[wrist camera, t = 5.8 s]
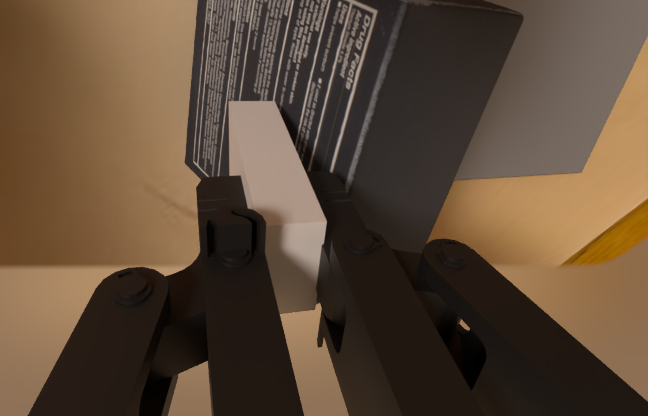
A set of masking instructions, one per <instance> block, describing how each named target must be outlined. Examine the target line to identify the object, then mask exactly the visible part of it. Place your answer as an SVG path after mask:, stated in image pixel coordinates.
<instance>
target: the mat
mask: <svg viewBox="0 0 648 416" xmlns="http://www.w3.org/2000/svg"><path fill="white" fill-rule="evenodd" d="M485 1H488V2H491V3H494V4H497V5H500V6H503V7H506V8H509V9H511V10H514V11H517V12H520V13H522V14H523V16H524V21H523V23H522V25H521V27H520V30H519V32H518V34H517V36H516V39H515V41H514V43H513V46H512V48H511V50H510V52H509V55H508V57H507V59H506V61H505V64H504V66H503V68H502V71H501V73H500V75H499V78H498V80H497V82H496V84H495V87H494V89H493V91H492V94H491V96H490V98H489V101H488V103H487V105H486V107H485V110H484V112H483V114H482V116H481V119H480V121H479V124H478V126H477V128H476V130H475V133H474V135H473V137H472V139H471V142H470V144H469V146H468V148H467V151H466V153H465V155H464V157H463V160H462V162H461V165H460V167H459V169H458V172H457V174H456V176H455V178H454V180H468V179H483V178H499V177H515V176H530V175H546V174H562V173H577V172H582V171H583V168H584V166H585V164H586V162H587V160H588V158H589V156H590V154H591V152H592V150H593V148H594V146H595V144H596V142H597V139H598V137H599V135H600V133H601V131H602V129H603V127H604V125H605V123H606V121H607V119H608V117H609V115H610V113H611V110H612V108H613V106H614V104H615V102H616V100H617V98H618V96H619V94H620V92H621V90H622V88H623V86H624V84H625V81H626V79H627V77H628V75H629V73H630V71H631V69H632V67H633V65H634V63H635V61H636V59H637V57H638V55H639V53H640V50H641V48H642V46H643V44H644V42H645V40H646V38H647V36H648V0H485Z"/></svg>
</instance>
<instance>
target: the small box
mask: <svg viewBox="0 0 648 416" xmlns="http://www.w3.org/2000/svg"><path fill="white" fill-rule="evenodd" d="M523 21H524V16H523V14H522V13H520V12H517V11H514V10H511V9H509V8H506V7H503V6H500V5H497V4H494V3H491V2H488V1H485V0H198V6H197V16H196V30H195V41H194V56H193V67H192V80H191V91H190V103H189V116H188V128H187V143H186V156H185V164H186V165H187V166H188V167H189V168H190V169H191V170H192V171H193V172H194V173H195V174H196V175H197V176H198V177H199V178H200V179H201V180H202V178H203V177H213V176H230V175H229V101H275V103H276V105H277V107H278V110H279V112H280V114H281V117H282V119H283V121H284V123H285V126H286V128H287V130H288V133H289V135H290V137H291V140H292V142H293V144H294V147H295V149H296V151H297V154H298V156H299V158H300V160H301V163H302V165H303V167H304V170H305V171H326V170H329V171H330V172H331V173H333V174H334V175H335V176H337V177H338V178H339V179H340V180H341V181H342V183H343V185H344V187H345V189H346V192H347V193H348V195H349V196H350V198H351V201H352V202H353V204H354V206H355V208H356V210H357V212H358V213H359V215H360V217H361V219H362V221H363V223H364V225H365V227H366V228H367V229H369V230H373V231H374V232H376V233H378V234H380V235H381V236H382V237H383V238H384V239H385V240H386V241H387V243H388V244H389V246H390V248H392V249H396V250H400V251H407V252H414V253H421V254H422V252H423V249H424V247H425V245H426V243H427V241H428V238H429V236H430V234H431V231H432V229H433V227H434V224H435V222H436V220H437V218H438V215H439V213H440V211H441V208H442V206H443V204H444V201H445V199H446V197H447V195H448V192H449V190H450V188H451V185H452V183H453V181H454V178H455V176H456V174H457V172H458V169H459V167H460V165H461V162H462V160H463V157H464V155H465V153H466V151H467V148H468V146H469V144H470V142H471V139H472V137H473V135H474V133H475V130H476V128H477V126H478V124H479V121H480V119H481V116H482V114H483V112H484V110H485V107H486V105H487V103H488V101H489V98H490V96H491V94H492V91H493V89H494V87H495V84H496V82H497V80H498V78H499V75H500V73H501V71H502V68H503V66H504V64H505V61H506V59H507V57H508V55H509V52H510V50H511V48H512V46H513V43H514V41H515V39H516V36H517V34H518V32H519V30H520V27H521V25H522V23H523ZM318 303H320V301H319V298H318V295H317V298H316V304H318Z"/></svg>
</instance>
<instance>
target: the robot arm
mask: <svg viewBox="0 0 648 416" xmlns="http://www.w3.org/2000/svg"><path fill="white" fill-rule="evenodd" d="M229 175H230V176H213V177H203V178H202V180H201V181H200V183H199V184H198V186H197V187H196V191H197V208H198V225H199V240H200V253H199V255H198V257H197V259H196V260H195V261H194V262H193V263H192V264H191V265H190V266H188V267H187V268H185V269H184V270H181V271H179V272H177V273H174V274H172V275H169V276H164V275H162V274H161V273H159V272H158V271H156V270H154V269H149V268H145V267H136V268H127V269H124V270H121V271H117V272H115V273H113V274H111V275H110V276H108V277H107V278H105V279H103V281H102V282H101V283H100V284H99V285H98V287H97V288H96V289H95V291H94V293H93V295H92V297H91V299H90V301H89V303H88V304H87V306H86V308H85V310H84V312H83V314H82V316H81V317H80V319H79V321H78V323H77V325H76V327H75V328H74V331H73V332H72V334H71V336H70V338H69V340H68V342H67V343H66V345H65V347H64V349H63V351H62V353H61V355H60V357H59V359H58V360H57V362H56V364H55V366H54V368H53V370H52V371H51V373H50V375H49V377H48V379H47V381H46V383H45V384H44V386H43V388H42V390H41V392H40V394H39V396H38V397H37V399H36V401H35V403H34V405H33V407H32V409H31V411H30V413H29V415H28V416H168V412H169V408H170V404H171V401H172V397H173V394H174V390H175V386H176V383H177V379H178V374H179V373H181V372H183V371H186V370H188V369H190V368H192V367H194V366H197V365H199V364H201V363H203V362H206V361H208V368H209V382H210V396H211V409H212V416H304V414H303V409H302V405H301V401H300V397H299V393H298V389H297V384H296V380H295V376H294V372H293V368H292V363H291V360H290V355H289V351H288V347H287V343H286V338H285V334H284V330H283V326H282V322H281V318H280V314H283V313H291V312H299V311H307V310H315V306H316V298H317V295H318V298H319V301H320V304H321V307H322V311H321V318H320V324H319V331H318V338H317V343H318V347H322V344H323V338H325V341H326V344H327V348H328V351H329V354H330V357H331V360H332V363H333V367H334V370H335V373H336V376H337V379H338V382H339V385H340V389H341V392H342V395H343V398H344V401H345V404H346V407H347V411H348V414H349V416H648V402H647V401H646V400H645V399H644V398H643V397H642V396H641V395H639V394H638V393H637V392H636V391H635V390H634V389H633V388H631V387H630V386H629V385H628V384H627V383H626V382H624V381H623V380H622V379H621V378H620V377H619V376H618V375H616V374H615V373H614V372H613V371H612V370H611V369H610V368H608V367H607V366H606V365H605V364H604V363H603V362H601V361H600V360H599V359H598V358H597V357H596V356H595V355H594V354H592V353H591V352H590V351H589V350H588V349H587V348H585V347H584V346H583V345H582V344H581V343H580V342H578V341H577V340H576V339H575V338H574V337H573V336H572V335H570V334H569V333H568V332H567V331H566V330H565V329H564V328H563V327H561V326H560V325H559V324H558V323H557V322H556V321H554V320H553V319H552V318H551V317H550V316H549V315H548V314H546V313H545V312H544V311H543V310H542V309H541V308H539V307H538V306H537V305H536V304H535V303H534V302H533V301H531V300H530V299H529V298H528V297H527V296H526V295H525V294H523V293H522V292H521V291H520V290H519V289H518V288H517V287H515V286H514V285H513V284H512V283H511V282H510V281H509V280H507V279H506V278H505V277H504V276H503V275H502V274H500V273H499V272H498V271H497V270H496V269H495V268H494V267H492V266H491V265H490V264H489V263H488V262H487V261H486V260H484V259H483V258H482V257H481V256H480V255H479V254H478V253H476V252H475V251H474V250H473V249H471V248H470V247H468V246H467V245H465V244H463V243H460V242H458V241H455V240H450V239H436V240H432V241H430V242H429V243H427V244H426V246H425V247H424V249H423V252H422V254H421V253H414V252H407V251H400V250H396V249H392V248H390V246H389V244H388V243H387V241H386V240H385V239H384V238H383V237H382V236H381V235H380V234H378V233H376V232H374V231H373V230H369V229H367V228H366V227H365V225H364V223H363V221H362V219H361V217H360V215H359V213H358V212H357V210H356V208H355V206H354V204H353V202H352V201H351V198H350V196H349V195H348V193H347V192H346V189H345V187H344V185H343V183H342V181H341V180H340V179H339V178H338V177H337V176H335V175H334V174H333V173H331V172H330V171H329V170H326V171H305V170H304V167H303V165H302V163H301V160H300V158H299V156H298V154H297V151H296V149H295V147H294V144H293V142H292V140H291V137H290V135H289V133H288V130H287V128H286V126H285V123H284V121H283V119H282V117H281V114H280V112H279V110H278V107H277V105H276V103H275V101H229ZM461 319H462V320H463V321H464V322H465V323H466V324H467V325H468V327H470V330H469V331H468V330H466V329H464V328H463V327H462V326H461V325H460V324H459V323H460V320H461Z"/></svg>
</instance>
